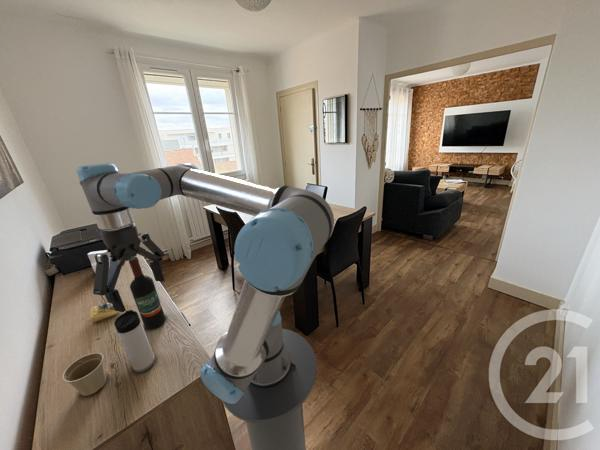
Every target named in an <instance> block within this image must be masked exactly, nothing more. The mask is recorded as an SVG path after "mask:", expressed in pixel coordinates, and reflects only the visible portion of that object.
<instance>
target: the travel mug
mask: <svg viewBox="0 0 600 450" xmlns="http://www.w3.org/2000/svg"><path fill="white" fill-rule="evenodd" d="M139 315H140V314H139V313H138V312H137V311H135V310H134V309H129V310H125V311H124V312H122V314H120V315H119V316H118V317H116V319H115V320H114V321H113V322H114V323H113V326H114V327H115V330H116V332H117V335H118V337H119V339H120V342H121V344H122V346H123V349H124V351H125V354H126V356H127V358H128V360H129V362H130V365H131V367H132V369H133V371H134V372H136V373H142V372H145V371H146V370H149V369H150V368H151V367H152V366H153V365H154V363H155V361H156V357H155V354H154V352H153V349H152V347H151V344H150V342H149V339H148V337H147V334H146V331H145V327H144V324H143V322H142V321H141V320H142V319H141V317H140V316H139Z"/></svg>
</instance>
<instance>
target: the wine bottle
mask: <svg viewBox="0 0 600 450" xmlns="http://www.w3.org/2000/svg"><path fill="white" fill-rule="evenodd" d="M128 263H129V266H130V268H131V271H132V274H133V277H134V278H133V280H132V281H131V283H130V284H129V289H130V291H131V294H132V297H133V301H134V302H135V305H136V307H137V310H138V312H139V313H138V314H139V315H140V316H139V317H140V319H141V320H142V321H141V322H142V325H143V327H144V329H146V330H149V331H151V330H156V329H158V328H160V327H161V326H163V325H164V323H165V322H166V320H167V319H166V316H165V312H164V309H163V307H162V303H161V300H160V297H159V294H158V291H157V288H156V285H155V283H154V280H153V278H152V277H151V276H148V275H144V273H143V270H142V267H141V264H140V260H139V258H138V256H135V257H132V258H131V259H129V260H128Z"/></svg>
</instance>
